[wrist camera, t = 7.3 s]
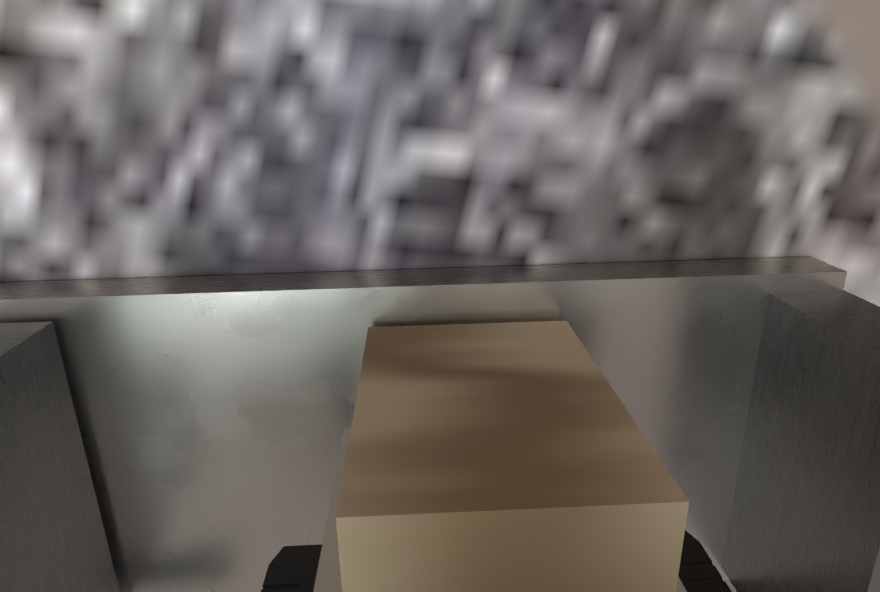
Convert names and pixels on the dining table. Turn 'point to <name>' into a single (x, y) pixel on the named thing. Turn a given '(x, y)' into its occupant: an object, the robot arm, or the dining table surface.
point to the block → (500, 469)
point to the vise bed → (336, 383)
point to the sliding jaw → (45, 474)
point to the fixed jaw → (810, 451)
